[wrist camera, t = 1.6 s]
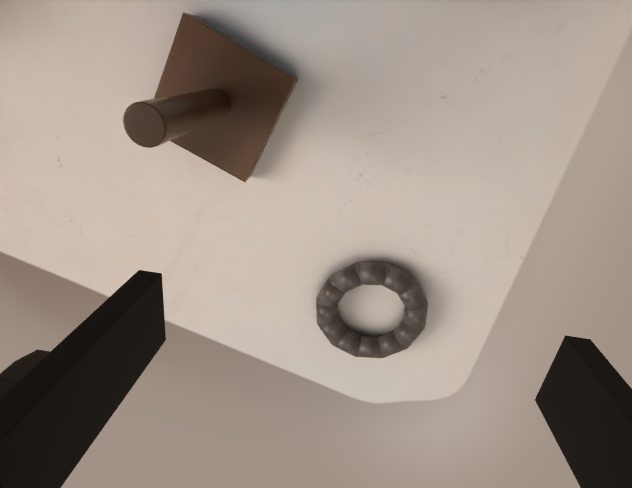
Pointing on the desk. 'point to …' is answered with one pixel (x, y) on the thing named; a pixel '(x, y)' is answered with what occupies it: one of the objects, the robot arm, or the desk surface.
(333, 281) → the ring
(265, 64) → the stand
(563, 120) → the desk surface
